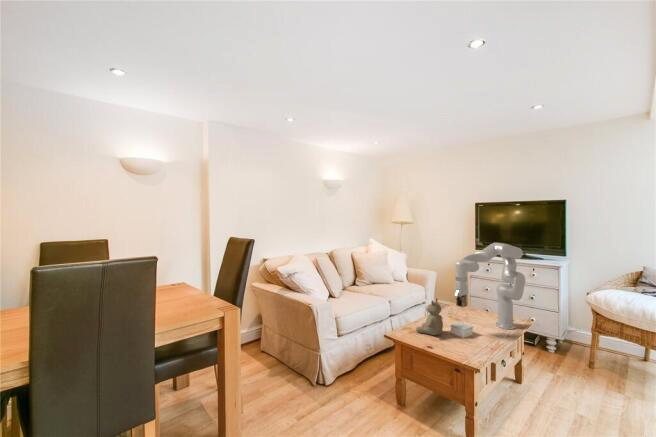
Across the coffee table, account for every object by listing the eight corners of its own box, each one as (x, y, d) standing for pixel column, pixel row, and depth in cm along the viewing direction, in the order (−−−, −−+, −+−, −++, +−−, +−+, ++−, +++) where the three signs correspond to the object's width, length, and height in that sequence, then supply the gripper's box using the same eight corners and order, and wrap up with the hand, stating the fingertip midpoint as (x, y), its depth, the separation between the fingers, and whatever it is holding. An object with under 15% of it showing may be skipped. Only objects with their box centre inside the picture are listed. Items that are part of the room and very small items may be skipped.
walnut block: (460, 304, 214) (460, 294, 214) (466, 306, 210) (466, 296, 210) (456, 305, 211) (456, 295, 211) (462, 307, 207) (462, 297, 207)
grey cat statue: (425, 325, 227) (425, 293, 226) (446, 331, 216) (446, 297, 215) (412, 334, 212) (411, 299, 211) (434, 340, 201) (434, 304, 200)
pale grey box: (460, 330, 218) (460, 321, 218) (473, 335, 209) (473, 326, 209) (450, 333, 213) (450, 324, 213) (463, 338, 204) (463, 329, 204)
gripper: (462, 276, 218) (462, 301, 219) (449, 279, 208) (449, 305, 209) (472, 278, 212) (472, 303, 213) (459, 281, 202) (459, 308, 203)
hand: (461, 304), depth 211 cm, fingers closed on walnut block, 5 cm apart
